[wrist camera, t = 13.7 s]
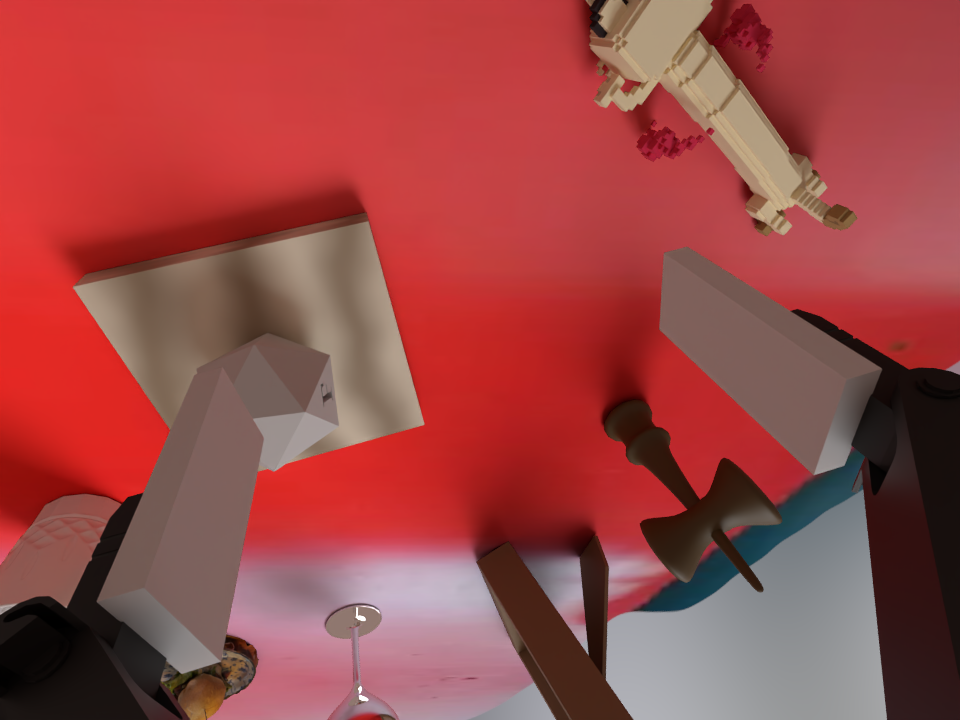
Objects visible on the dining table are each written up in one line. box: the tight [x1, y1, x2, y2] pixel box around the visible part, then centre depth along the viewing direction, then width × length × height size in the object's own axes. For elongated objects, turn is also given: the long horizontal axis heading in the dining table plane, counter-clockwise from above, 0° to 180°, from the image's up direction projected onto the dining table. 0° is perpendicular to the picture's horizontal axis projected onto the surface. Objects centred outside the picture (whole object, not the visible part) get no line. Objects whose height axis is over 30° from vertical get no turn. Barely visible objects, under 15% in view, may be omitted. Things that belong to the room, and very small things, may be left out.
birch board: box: [73, 213, 424, 471], centre depth 37 cm, size 18×18×2 cm
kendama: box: [604, 399, 782, 592], centre depth 43 cm, size 6×10×20 cm, turn 131°
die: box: [196, 333, 339, 471], centre depth 33 cm, size 8×9×10 cm
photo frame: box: [477, 535, 633, 720], centre depth 54 cm, size 15×22×25 cm
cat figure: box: [585, 0, 857, 236], centre depth 33 cm, size 10×9×25 cm
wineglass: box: [326, 605, 399, 720], centre depth 51 cm, size 8×8×18 cm
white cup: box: [0, 494, 121, 615], centre depth 37 cm, size 8×8×10 cm
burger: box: [160, 635, 258, 720], centre depth 53 cm, size 12×12×8 cm
